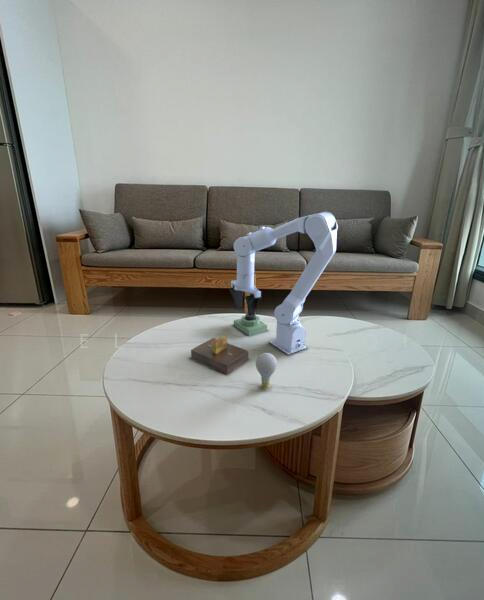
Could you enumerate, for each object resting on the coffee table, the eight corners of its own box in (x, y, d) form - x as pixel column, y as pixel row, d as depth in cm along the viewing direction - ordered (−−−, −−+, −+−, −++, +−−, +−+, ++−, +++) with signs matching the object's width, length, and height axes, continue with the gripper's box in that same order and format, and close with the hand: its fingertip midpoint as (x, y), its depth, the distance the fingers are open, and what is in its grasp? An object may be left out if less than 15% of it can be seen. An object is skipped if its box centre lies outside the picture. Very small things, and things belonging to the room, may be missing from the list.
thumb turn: (223, 346, 98) (222, 334, 97) (227, 347, 98) (227, 336, 96) (212, 352, 94) (211, 341, 93) (216, 354, 94) (215, 342, 92)
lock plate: (248, 359, 97) (248, 350, 96) (227, 374, 90) (227, 364, 88) (213, 345, 105) (213, 337, 104) (191, 358, 97) (190, 349, 96)
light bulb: (250, 388, 84) (251, 354, 80) (263, 379, 88) (265, 346, 84) (266, 396, 81) (268, 362, 77) (279, 387, 85) (282, 354, 81)
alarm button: (257, 319, 116) (257, 315, 116) (249, 321, 114) (249, 317, 114) (251, 316, 119) (251, 312, 118) (243, 318, 117) (243, 314, 116)
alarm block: (267, 330, 116) (267, 320, 115) (248, 336, 112) (249, 325, 111) (251, 321, 124) (251, 311, 123) (233, 325, 120) (233, 315, 118)
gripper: (223, 269, 109) (223, 307, 113) (248, 280, 98) (247, 321, 103) (240, 267, 113) (240, 303, 117) (266, 277, 102) (264, 316, 107)
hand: (244, 311), depth 110 cm, fingers open, 7 cm apart
